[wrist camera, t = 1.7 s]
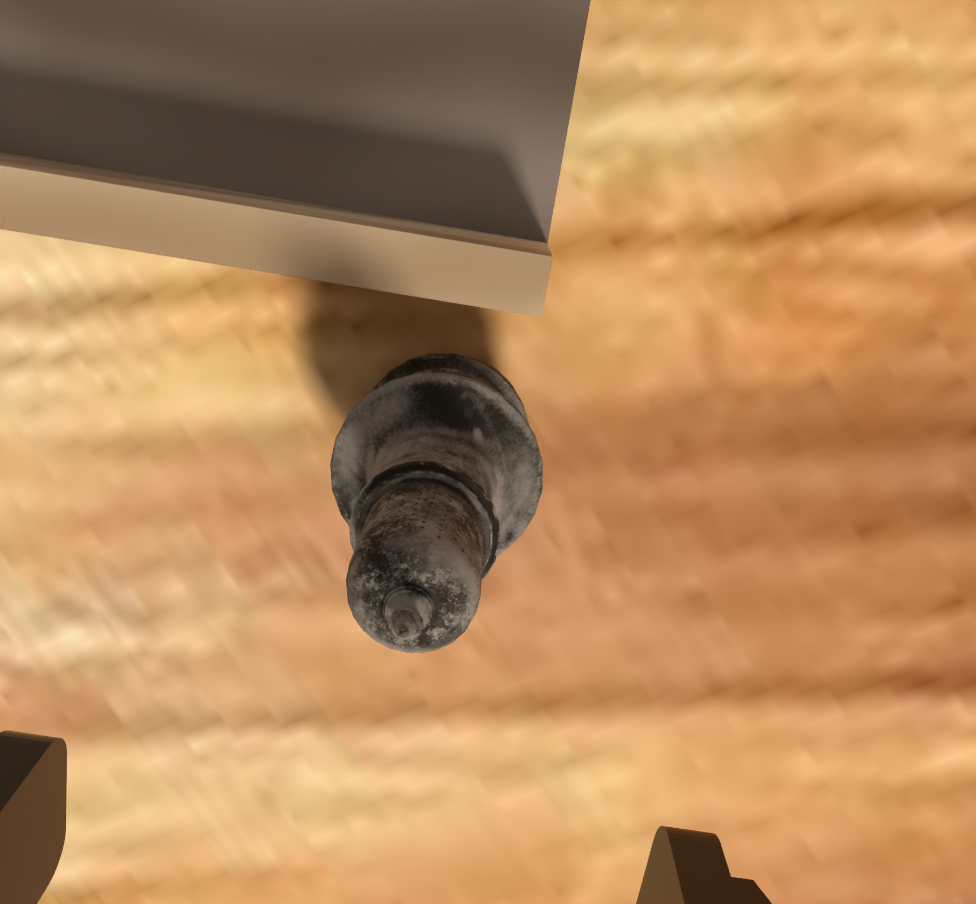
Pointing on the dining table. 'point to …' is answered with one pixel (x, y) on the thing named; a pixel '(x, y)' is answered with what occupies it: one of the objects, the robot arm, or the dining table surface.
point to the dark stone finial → (432, 496)
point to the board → (297, 135)
